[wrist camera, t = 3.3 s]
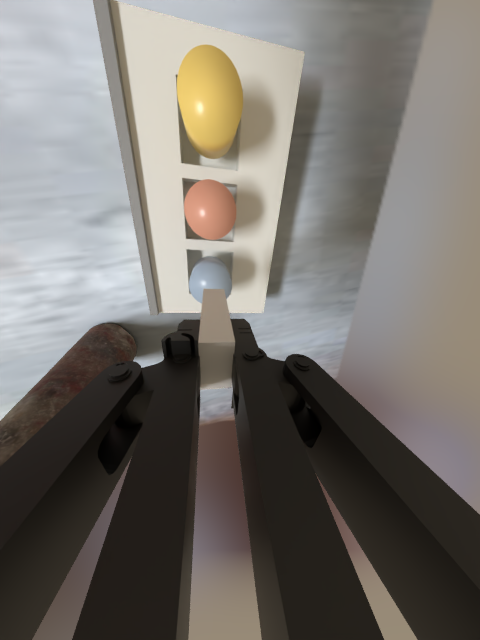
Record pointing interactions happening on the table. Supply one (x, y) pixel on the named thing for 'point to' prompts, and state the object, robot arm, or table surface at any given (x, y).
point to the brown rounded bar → (64, 384)
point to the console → (185, 162)
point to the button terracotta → (210, 209)
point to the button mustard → (209, 100)
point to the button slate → (209, 277)
